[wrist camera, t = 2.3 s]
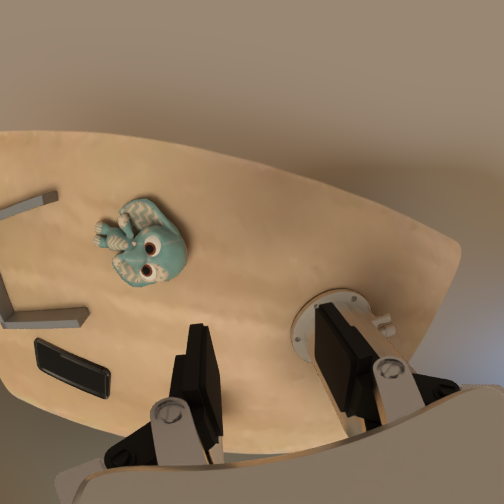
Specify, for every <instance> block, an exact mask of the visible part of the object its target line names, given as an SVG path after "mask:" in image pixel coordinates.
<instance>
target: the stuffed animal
mask: <svg viewBox="0 0 504 504" xmlns="http://www.w3.org/2000/svg"><path fill="white" fill-rule="evenodd" d="M119 213H120V216H119V217H118V219H117V221H118V224H119V226H120V228H121V229H120V228H116V227H114V228H112V227H110V226H109V225H108V224H107V223H105V222H101V221H98V222H97V223H96V225H95V232H97V233H98V234H97V235H96V236H95V237H94V240H93V241H94V245H96V246H98V247H102V248H109V249H110V250H124V252H123V253H120V254H118V255H116V256H115V257H114V258H113V259H112V264H113V266H114V268H115V270H116V271H117V273H118V274H119V275H120V277H121V278H122V279H123V280H124V281H125V282H127V283H128V284H129V285H131V286H132V287H143V286H146V285H150V284H154V283H158V282H165V281H169V280H170V279H172V278H174V277H176V276H177V275H178V274H179V273H180V272H181V271H182V270H183V268H184V267H185V266H186V263H187V260H188V250H187V247H186V244H185V242H184V239H183V238H182V237H181V235H180V233H179V231H178V228H177V227H176V226H175V225H174V224H173V223H172V222H171V221H170V220H168V219H167V218H166V217H165V215H164V214H163V213H162V212H161V211H160V210H159V209H158V208H157V206H156V205H155V204H154V203H153V202H151V201H149V200H148V199H146V198H145V199H137V200H133V201H131V202H130V203H128V204H126V205H125V206H123V207H122V208H121V210H120V211H119ZM131 226H132V227H133V228H134V229H136V230H138V231H140V232H139V233H138V235H137V236H136V237H135V238H134V233H133V231H132V227H131ZM99 234H106V235H107V238H106V237H104V236H102V235H99Z"/></svg>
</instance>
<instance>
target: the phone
mask: <svg viewBox="0 0 504 504" xmlns="http://www.w3.org/2000/svg"><path fill="white" fill-rule="evenodd" d="M34 348H35V355H36V361H37V366H38V368H39V369H40V370H41V371H43V372H44V373H46V374H48V375H50V376H52V377H54V378H56V379H58V380H60V381H62V382H65V383H67V384H69V385H71V386H73V387H76V388H78V389H80V390H82V391H85V392H87V393H90V394H92V395H95V396H97V397H100V398H102V399H108V397H109V395H110V379H111V373H110V371H109V370H108V369H107V368H105V367H102V366H100V365H97V364H95V363H92V362H90V361H88V360H85V359H83V358H80V357H78V356H76V355H74V354H71V353H69V352H67V351H65V350H63V349H61V348H58V347H56V346H54V345H52V344H50V343H48V342H46V341H44V340H42V339H41V338H36V340H35V341H34Z"/></svg>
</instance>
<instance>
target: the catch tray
mask: <svg viewBox="0 0 504 504" xmlns="http://www.w3.org/2000/svg"><path fill="white" fill-rule="evenodd" d="M55 201H58V198H57V191H56V192H52V193H48V194H44V195H40V196H37V197H34V198H32V199H29V200H26V201H24V202H21V203H18V204H16V205H13V206H11V207H8V208H6V209H3V210H1V211H0V220H2V219H5V218H7V217H10V216H13V215H16V214H18V213H21V212H24V211H27V210H30V209H33V208H36V207H39V206H42V205H45V204H48V203H51V202H55ZM89 315H90V314H89V312H88V309H87V307H82V308H70V309H57V310H42V311H26V312H14V310H13V307H12V305H11V302H10V300H9V297H8V295H7V292H6V289H5V286H4V284H3V281H2V278H1V275H0V323H1V325H2V327H3V329H54V328H80V327H81V326H82V324H83V323H84V322H85V320H86V319H87V317H88V316H89Z"/></svg>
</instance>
